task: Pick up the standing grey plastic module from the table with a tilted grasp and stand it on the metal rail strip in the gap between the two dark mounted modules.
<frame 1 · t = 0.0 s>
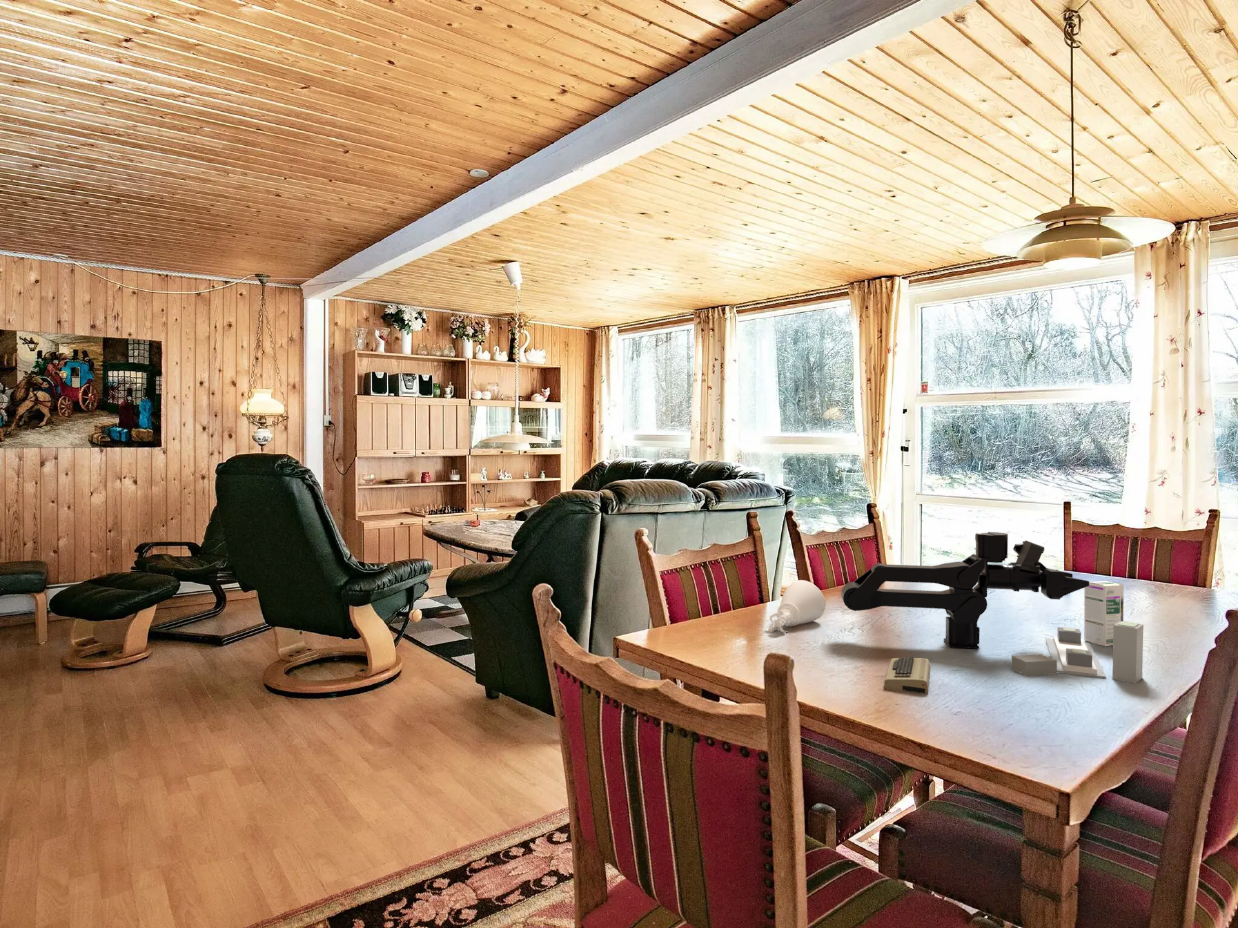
hand: (1080, 579, 170), 17 cm above the table, tool horizontal, fingers open, 9 cm apart
rocket engine: (786, 626, 194), on the table
module near: (1078, 670, 156), resting on rail
module far: (1068, 646, 174), resting on rail
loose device: (1033, 672, 155), on the table
computer: (908, 682, 150), on the table
module: (1127, 678, 151), on the table
rail: (1073, 657, 165), on the table
syrup box: (1103, 643, 177), on the table
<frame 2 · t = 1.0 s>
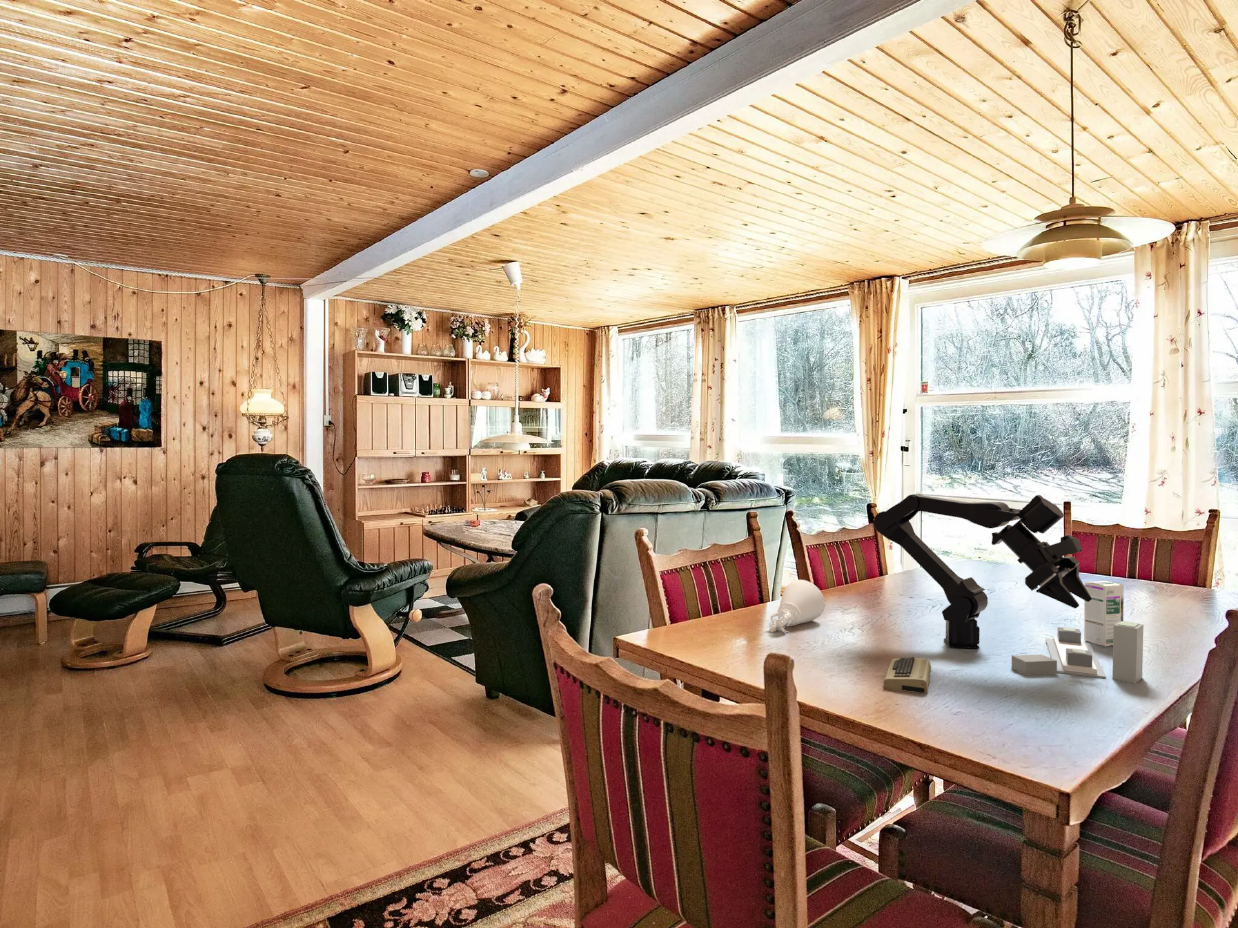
hand: (1083, 603, 156), 14 cm above the table, tool tilted 45°, fingers open, 9 cm apart
nothing on the table moved.
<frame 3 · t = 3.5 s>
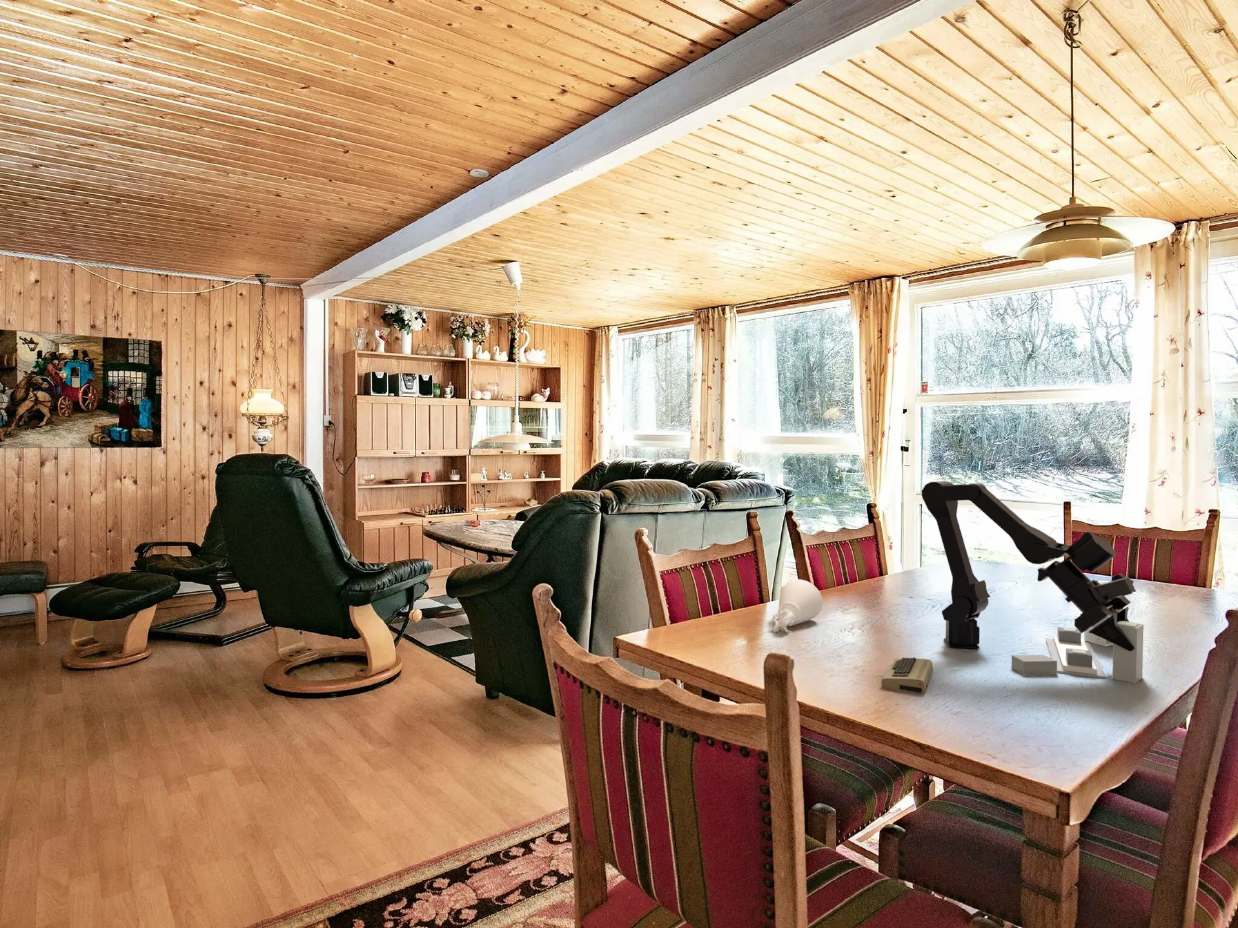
hand: (1136, 647, 149), 7 cm above the table, tool tilted 45°, fingers closed on module, 5 cm apart
module: (1127, 678, 151), on the table, touching gripper
when the fingers open (9 cm above the table, at t = 7.3 s): module stays where it is, resting on rail.
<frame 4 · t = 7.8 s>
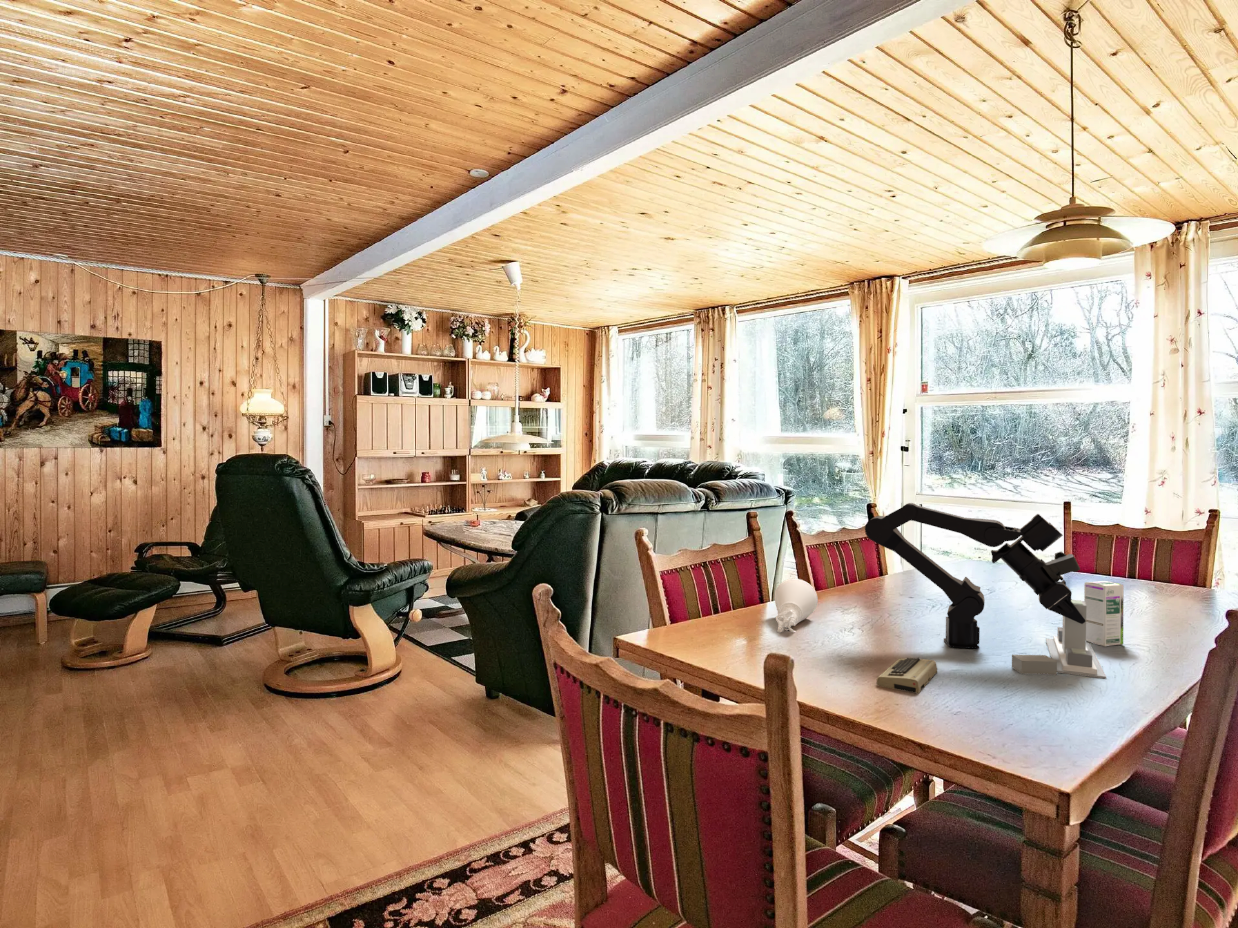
hand: (1081, 617, 164), 9 cm above the table, tool tilted 45°, fingers open, 9 cm apart
module: (1073, 651, 165), point 1 cm above the table, touching rail
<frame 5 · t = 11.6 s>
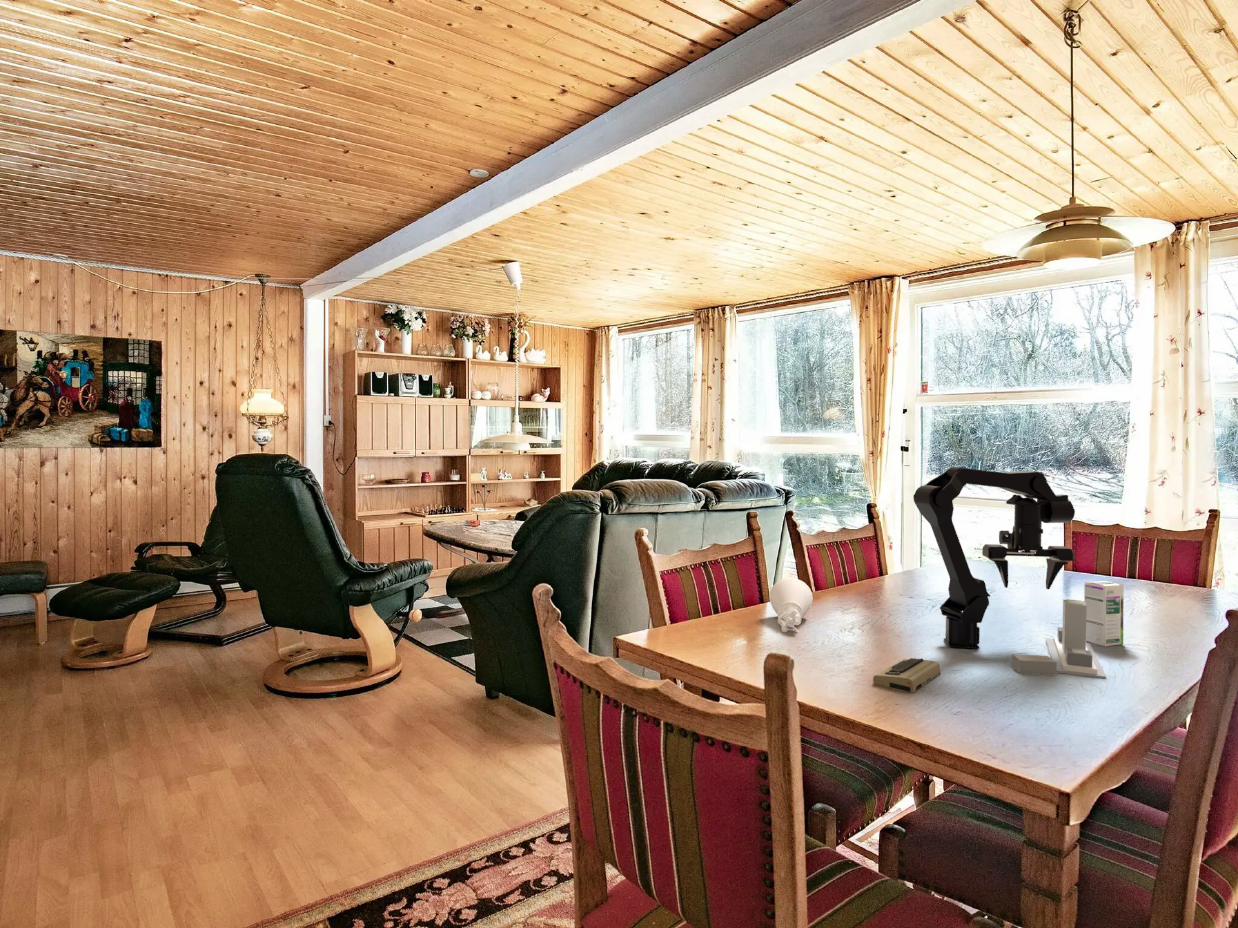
hand: (1026, 588, 177), 13 cm above the table, tool pointing down, fingers open, 9 cm apart
at the end: module inside the target area on the rail (0.0 cm from its centre), point 1.4 cm above the rail's base; module tilted 0°; the gripper is holding nothing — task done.
